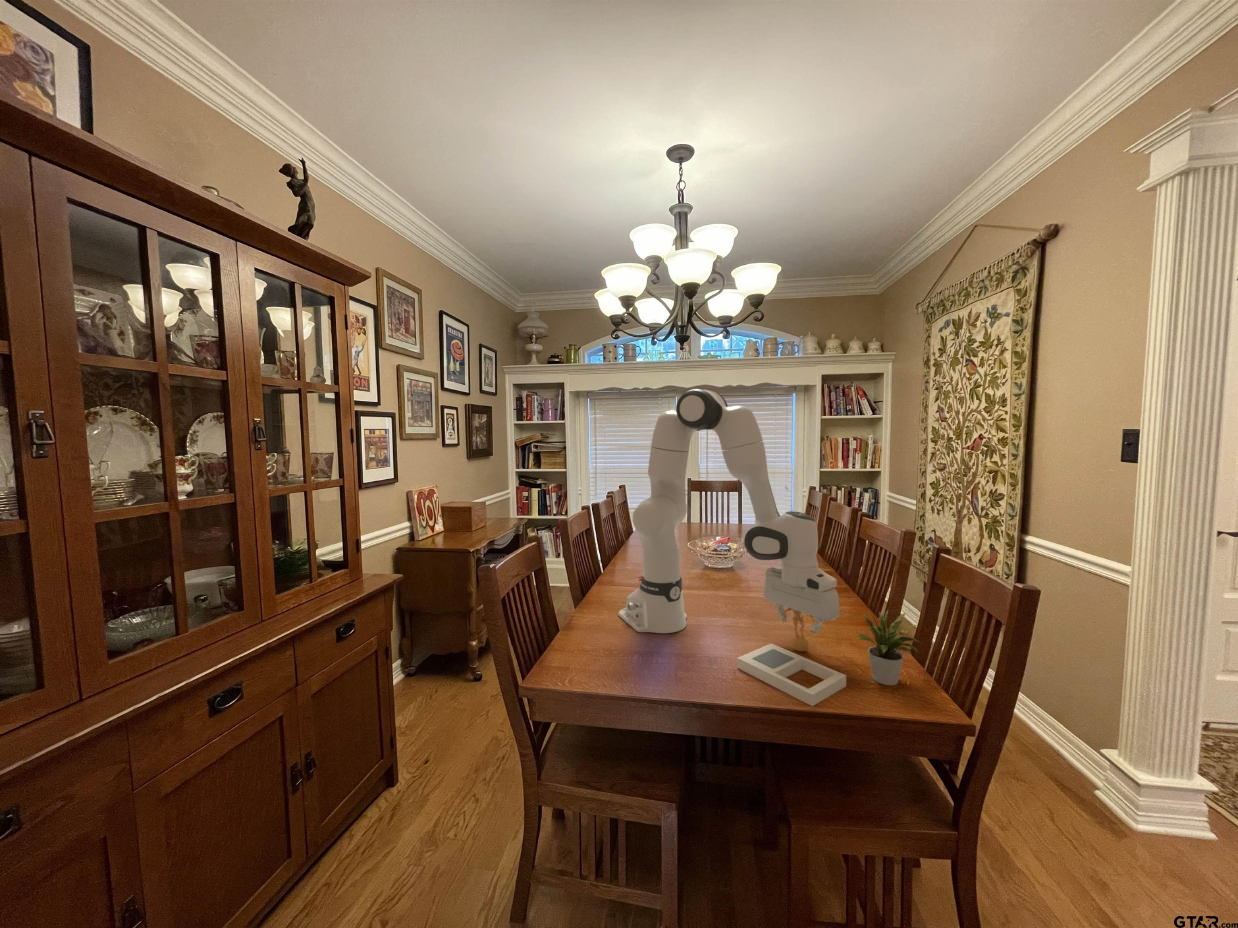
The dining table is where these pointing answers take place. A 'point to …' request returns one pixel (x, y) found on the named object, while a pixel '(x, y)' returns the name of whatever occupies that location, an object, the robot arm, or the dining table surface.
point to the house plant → (886, 649)
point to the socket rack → (782, 663)
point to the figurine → (799, 640)
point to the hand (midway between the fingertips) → (798, 626)
